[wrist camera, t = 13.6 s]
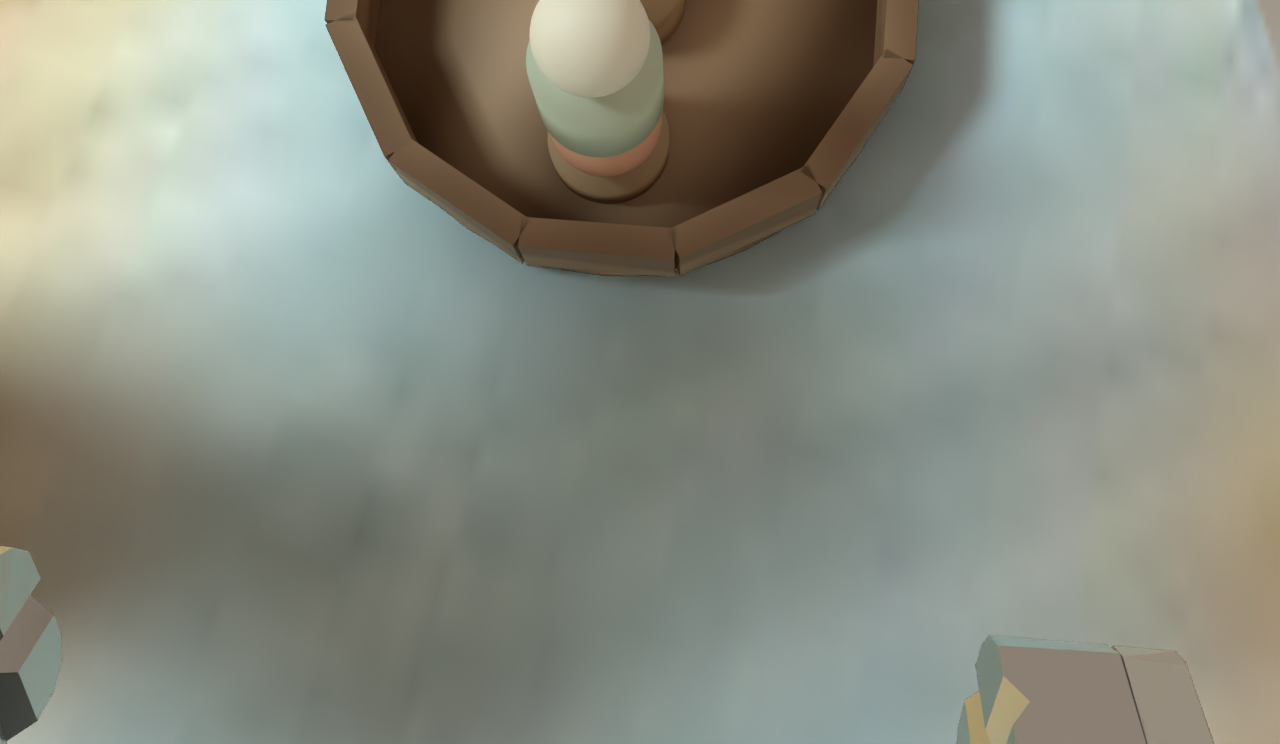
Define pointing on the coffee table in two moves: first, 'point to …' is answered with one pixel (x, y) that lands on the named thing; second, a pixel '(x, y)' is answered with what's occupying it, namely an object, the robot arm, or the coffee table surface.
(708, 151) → the walnut tray
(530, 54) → the bead column
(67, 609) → the coffee table surface
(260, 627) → the coffee table surface
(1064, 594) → the coffee table surface
